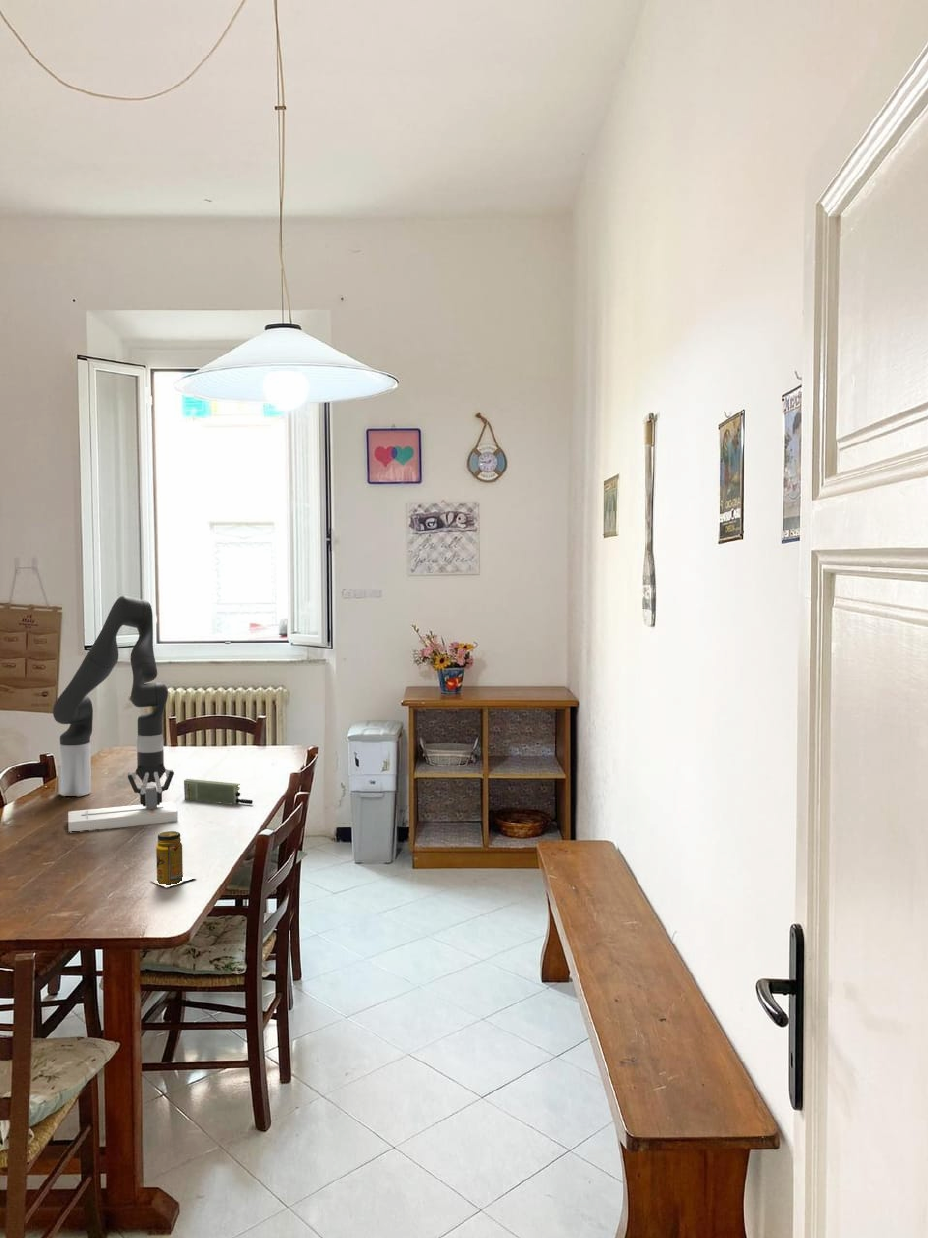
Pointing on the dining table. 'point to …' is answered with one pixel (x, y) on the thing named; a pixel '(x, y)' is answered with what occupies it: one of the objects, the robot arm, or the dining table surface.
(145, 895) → the dining table surface
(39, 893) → the dining table surface
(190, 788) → the handheld radio
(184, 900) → the dining table surface
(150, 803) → the block
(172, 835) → the condiment
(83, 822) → the console
